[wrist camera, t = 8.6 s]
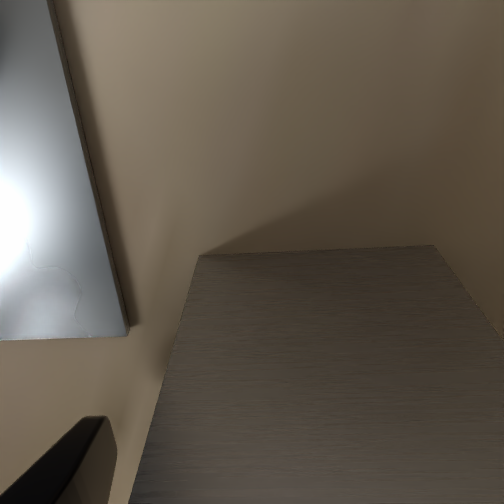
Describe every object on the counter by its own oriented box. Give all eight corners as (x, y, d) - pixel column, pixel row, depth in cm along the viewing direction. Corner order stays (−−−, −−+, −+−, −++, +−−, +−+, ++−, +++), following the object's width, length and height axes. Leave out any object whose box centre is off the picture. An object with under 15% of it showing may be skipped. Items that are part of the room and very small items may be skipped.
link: (403, 475, 10) (505, 821, 6) (228, 478, 11) (200, 812, 6) (433, 242, 8) (662, 559, 3) (198, 253, 8) (107, 562, 3)
